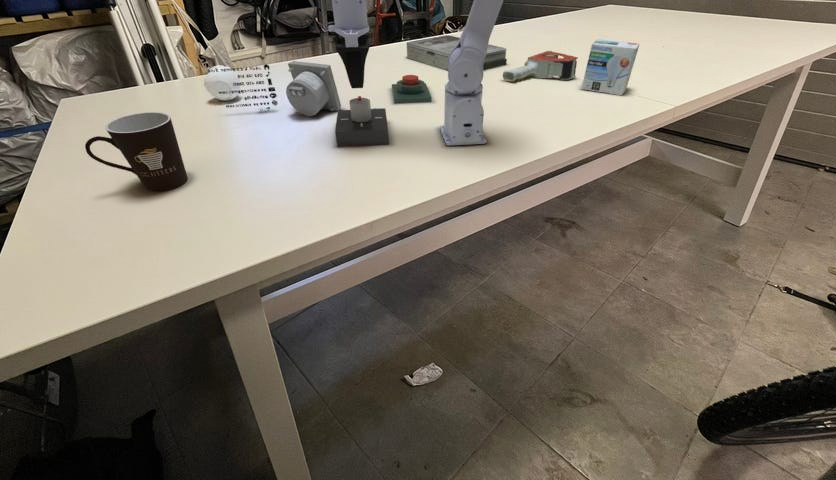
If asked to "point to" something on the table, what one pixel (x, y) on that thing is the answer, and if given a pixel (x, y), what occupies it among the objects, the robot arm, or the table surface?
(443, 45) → the hard drive
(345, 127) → the dial panel
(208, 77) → the motion sensor
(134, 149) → the coffee mug
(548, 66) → the tape dispenser
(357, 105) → the knob
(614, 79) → the light bulb box
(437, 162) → the table surface
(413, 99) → the button block
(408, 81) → the button
